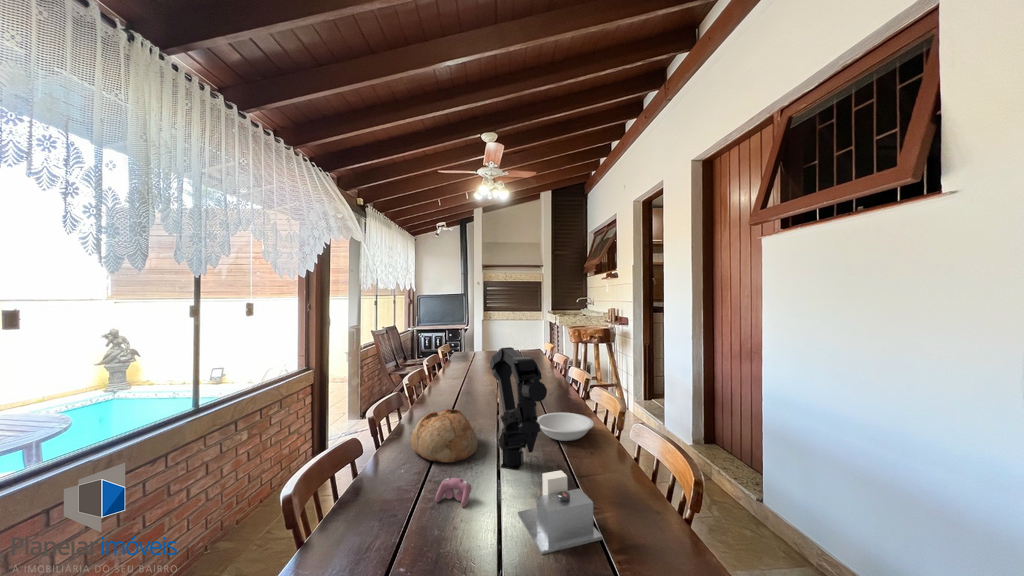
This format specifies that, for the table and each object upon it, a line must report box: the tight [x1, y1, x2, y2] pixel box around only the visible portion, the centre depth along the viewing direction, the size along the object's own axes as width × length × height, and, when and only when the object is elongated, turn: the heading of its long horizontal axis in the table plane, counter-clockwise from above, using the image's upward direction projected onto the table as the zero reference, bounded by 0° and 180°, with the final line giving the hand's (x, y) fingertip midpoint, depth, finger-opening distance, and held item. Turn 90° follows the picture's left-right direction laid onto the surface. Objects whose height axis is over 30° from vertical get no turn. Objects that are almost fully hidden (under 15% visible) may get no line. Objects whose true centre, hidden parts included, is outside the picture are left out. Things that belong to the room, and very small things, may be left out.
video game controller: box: [434, 477, 472, 508], centre depth 109 cm, size 10×5×7 cm, turn 71°
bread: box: [409, 408, 479, 464], centre depth 144 cm, size 26×23×15 cm
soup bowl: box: [537, 411, 595, 442], centre depth 156 cm, size 24×24×7 cm
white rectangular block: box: [541, 470, 568, 496], centre depth 95 cm, size 10×6×12 cm, turn 18°
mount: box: [517, 488, 603, 555], centre depth 97 cm, size 16×16×10 cm
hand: (530, 452), depth 115 cm, fingers closed
